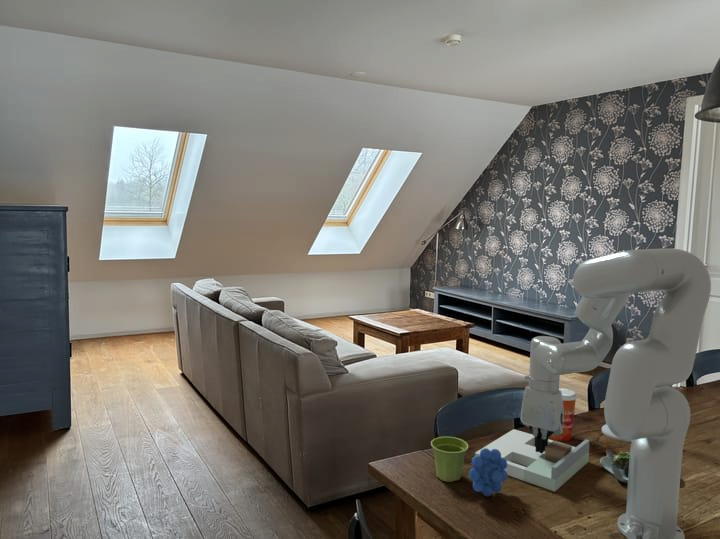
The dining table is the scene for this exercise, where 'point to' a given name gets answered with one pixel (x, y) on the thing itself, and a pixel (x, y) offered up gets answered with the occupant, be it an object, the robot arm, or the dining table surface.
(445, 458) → the plant pot
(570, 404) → the paper cup
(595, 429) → the dining table surface
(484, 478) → the grapes
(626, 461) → the salad plate
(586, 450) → the white compartment tray
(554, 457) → the block
